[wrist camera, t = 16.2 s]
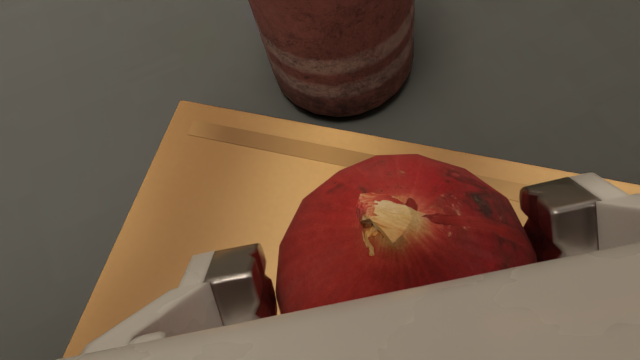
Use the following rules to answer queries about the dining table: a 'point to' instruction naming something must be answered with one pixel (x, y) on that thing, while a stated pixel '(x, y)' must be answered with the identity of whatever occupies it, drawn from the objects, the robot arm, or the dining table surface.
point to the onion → (395, 232)
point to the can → (337, 51)
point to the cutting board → (244, 198)
